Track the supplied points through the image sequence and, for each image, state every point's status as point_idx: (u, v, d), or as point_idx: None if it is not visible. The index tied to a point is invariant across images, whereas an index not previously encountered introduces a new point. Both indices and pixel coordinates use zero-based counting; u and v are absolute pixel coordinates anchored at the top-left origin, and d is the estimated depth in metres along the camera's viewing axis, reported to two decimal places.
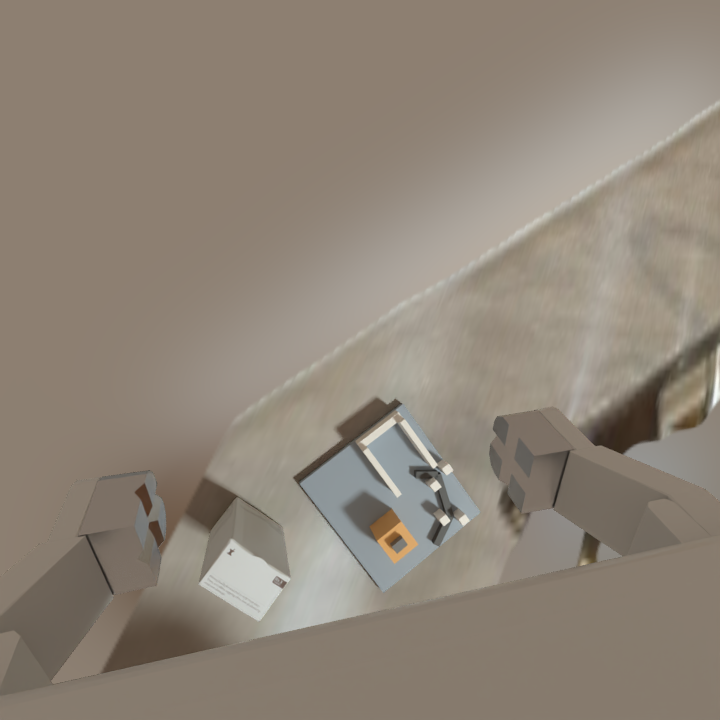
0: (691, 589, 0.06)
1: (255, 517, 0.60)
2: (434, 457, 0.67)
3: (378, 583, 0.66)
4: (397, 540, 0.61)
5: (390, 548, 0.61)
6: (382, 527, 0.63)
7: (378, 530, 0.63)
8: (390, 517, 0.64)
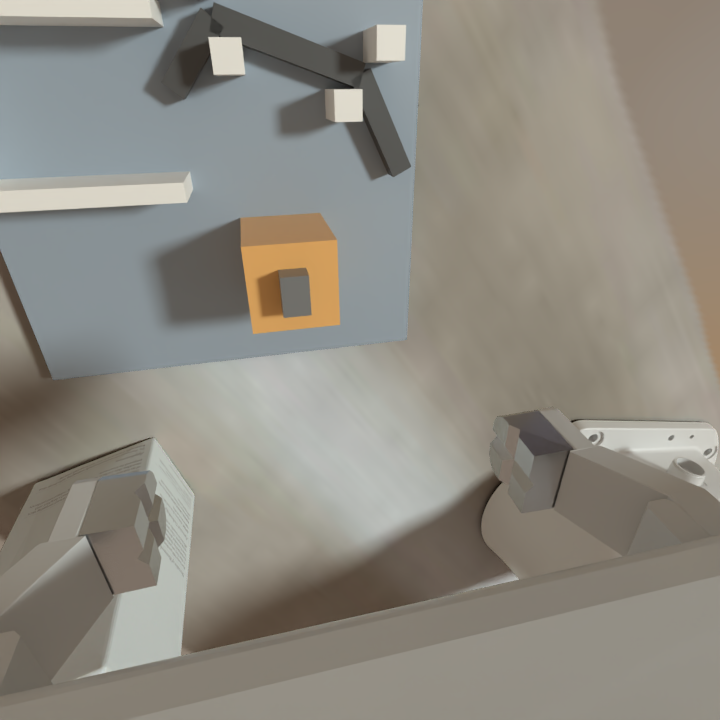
0: (691, 589, 0.06)
1: (61, 505, 0.26)
2: None
3: (382, 339, 0.29)
4: (280, 291, 0.20)
5: None
6: None
7: None
8: None
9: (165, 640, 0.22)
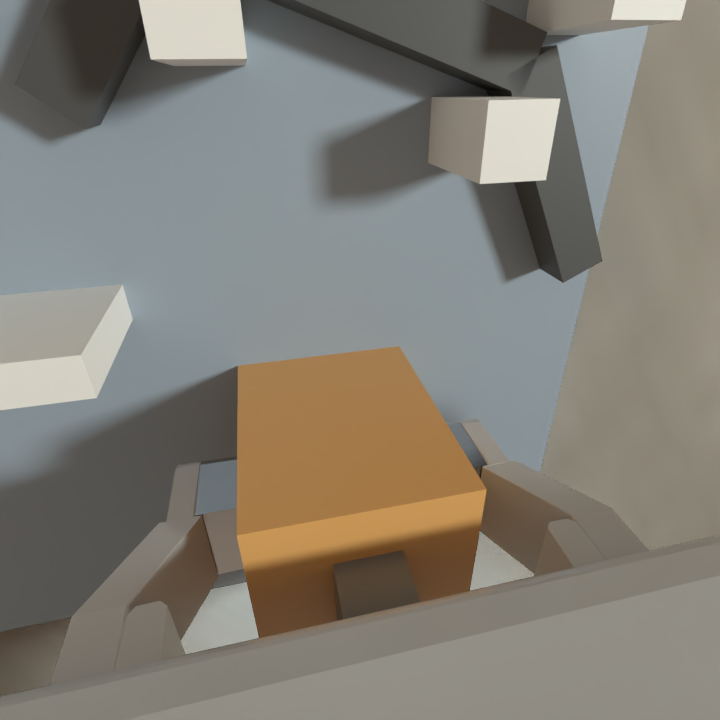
0: (691, 589, 0.06)
1: None
2: None
3: None
4: None
5: None
6: None
7: None
8: None
9: None
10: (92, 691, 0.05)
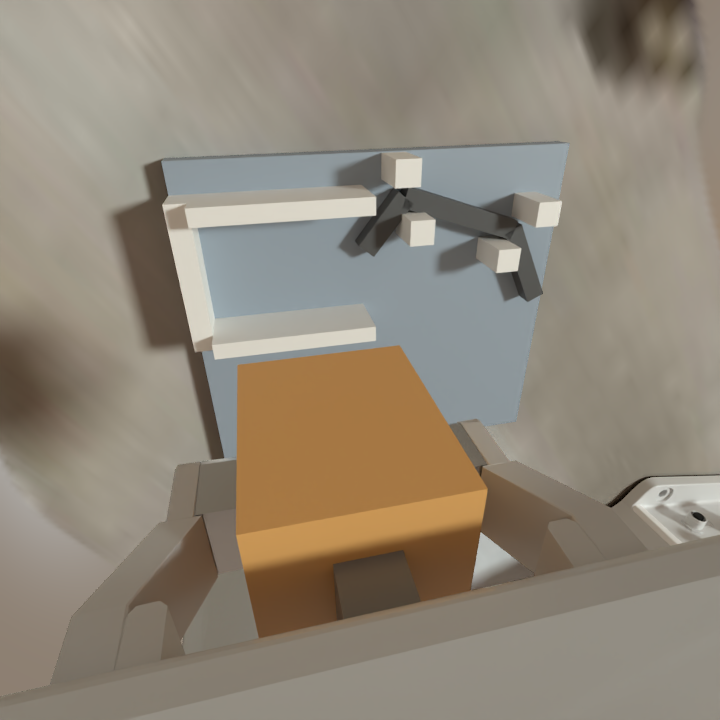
0: (691, 589, 0.06)
1: (229, 572, 0.31)
2: (362, 170, 0.23)
3: (495, 422, 0.33)
4: None
5: None
6: None
7: None
8: None
9: None
10: (92, 691, 0.05)
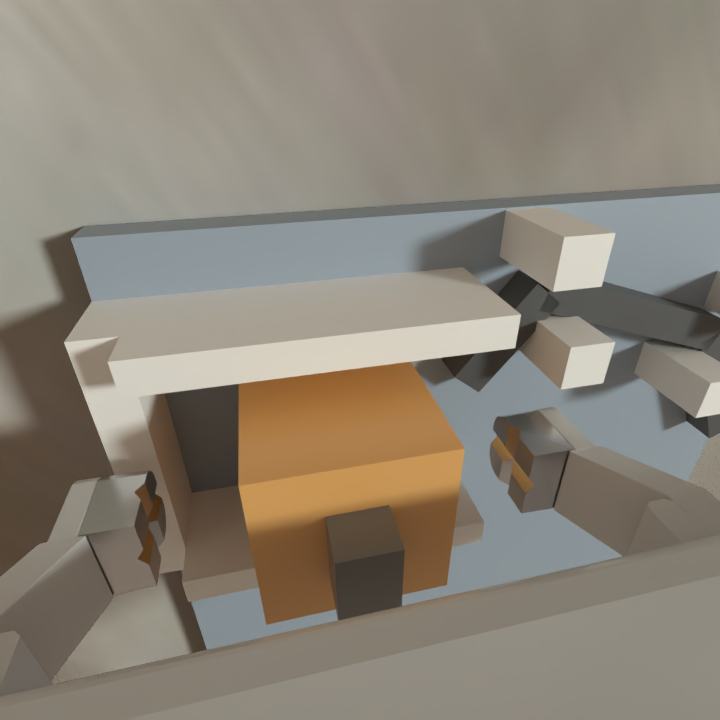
0: (691, 589, 0.06)
1: None
2: (467, 243, 0.12)
3: None
4: (333, 573, 0.08)
5: None
6: None
7: None
8: None
9: None
10: (92, 691, 0.05)
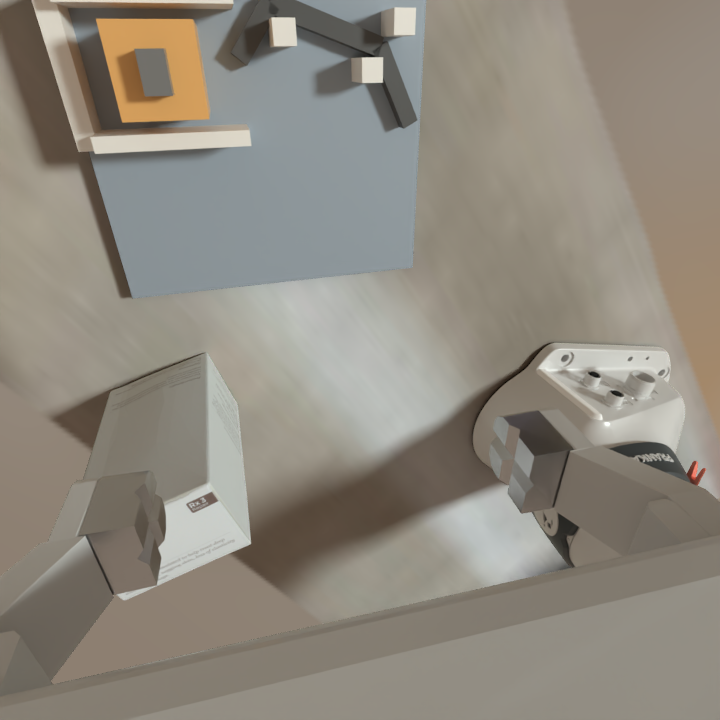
0: (691, 589, 0.06)
1: (140, 401, 0.33)
2: None
3: (392, 266, 0.35)
4: None
5: (162, 102, 0.22)
6: None
7: None
8: None
9: (237, 487, 0.29)
10: (92, 691, 0.05)
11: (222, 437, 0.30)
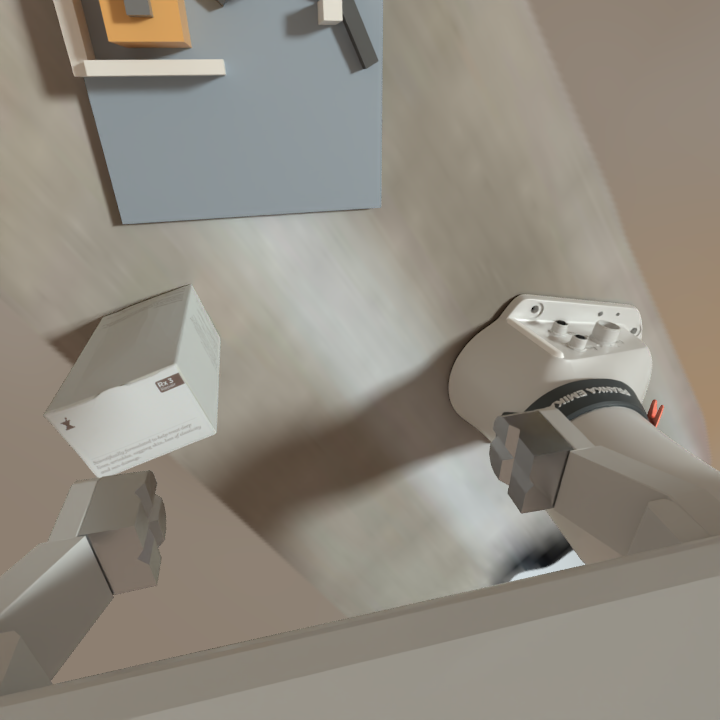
0: (691, 589, 0.06)
1: (127, 319, 0.36)
2: None
3: (362, 205, 0.38)
4: None
5: (142, 24, 0.26)
6: None
7: None
8: None
9: (208, 388, 0.32)
10: (92, 691, 0.05)
11: (197, 346, 0.33)
